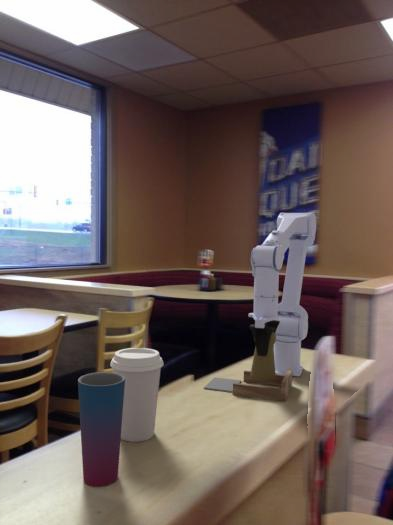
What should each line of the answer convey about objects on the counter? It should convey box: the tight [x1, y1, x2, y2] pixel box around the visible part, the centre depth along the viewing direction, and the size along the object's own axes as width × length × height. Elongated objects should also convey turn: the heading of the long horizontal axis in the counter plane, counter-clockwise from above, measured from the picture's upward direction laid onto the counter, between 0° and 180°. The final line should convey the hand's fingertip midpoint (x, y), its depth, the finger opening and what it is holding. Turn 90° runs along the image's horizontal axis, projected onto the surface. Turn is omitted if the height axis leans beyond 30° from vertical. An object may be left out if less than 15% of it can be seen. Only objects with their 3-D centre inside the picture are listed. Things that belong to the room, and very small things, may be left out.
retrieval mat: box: [203, 376, 242, 393], centre depth 116 cm, size 9×7×1 cm
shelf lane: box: [232, 369, 293, 402], centre depth 112 cm, size 12×12×4 cm
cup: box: [77, 371, 125, 488], centre depth 70 cm, size 7×7×15 cm
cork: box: [250, 332, 276, 380], centre depth 112 cm, size 6×6×11 cm
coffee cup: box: [109, 347, 164, 443], centre depth 85 cm, size 10×10×15 cm
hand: (264, 352), depth 112 cm, fingers closed on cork, 5 cm apart
